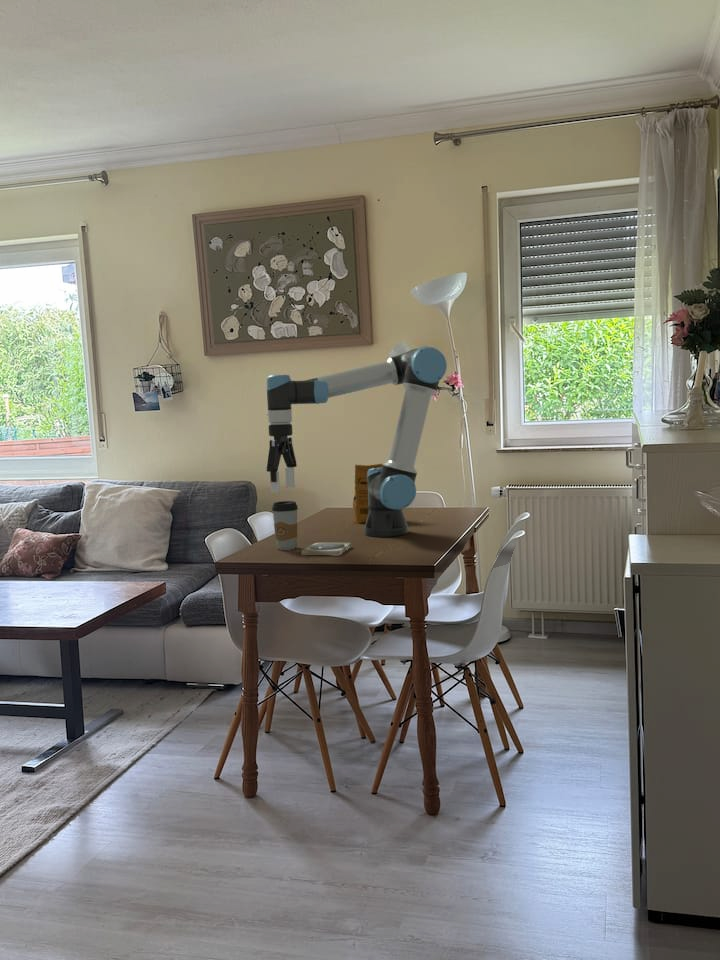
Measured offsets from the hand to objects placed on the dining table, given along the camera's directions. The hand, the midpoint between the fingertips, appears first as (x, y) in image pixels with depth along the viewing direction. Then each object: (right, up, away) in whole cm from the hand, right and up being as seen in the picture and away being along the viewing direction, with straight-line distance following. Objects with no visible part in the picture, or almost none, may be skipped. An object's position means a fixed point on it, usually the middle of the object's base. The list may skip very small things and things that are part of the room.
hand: (283, 489), depth 276 cm
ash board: (+14, -19, -6) cm, 25 cm away
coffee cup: (+1, -19, +2) cm, 19 cm away
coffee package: (+28, -13, +51) cm, 60 cm away
